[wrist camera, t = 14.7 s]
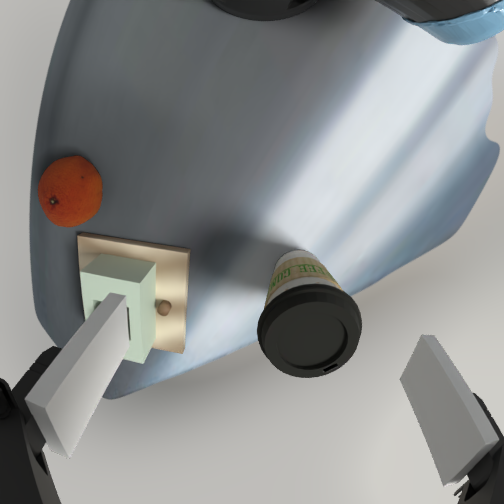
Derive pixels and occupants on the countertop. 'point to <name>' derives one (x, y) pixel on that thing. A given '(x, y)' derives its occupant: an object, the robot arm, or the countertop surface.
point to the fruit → (70, 191)
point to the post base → (167, 281)
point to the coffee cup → (307, 318)
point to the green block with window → (137, 296)
